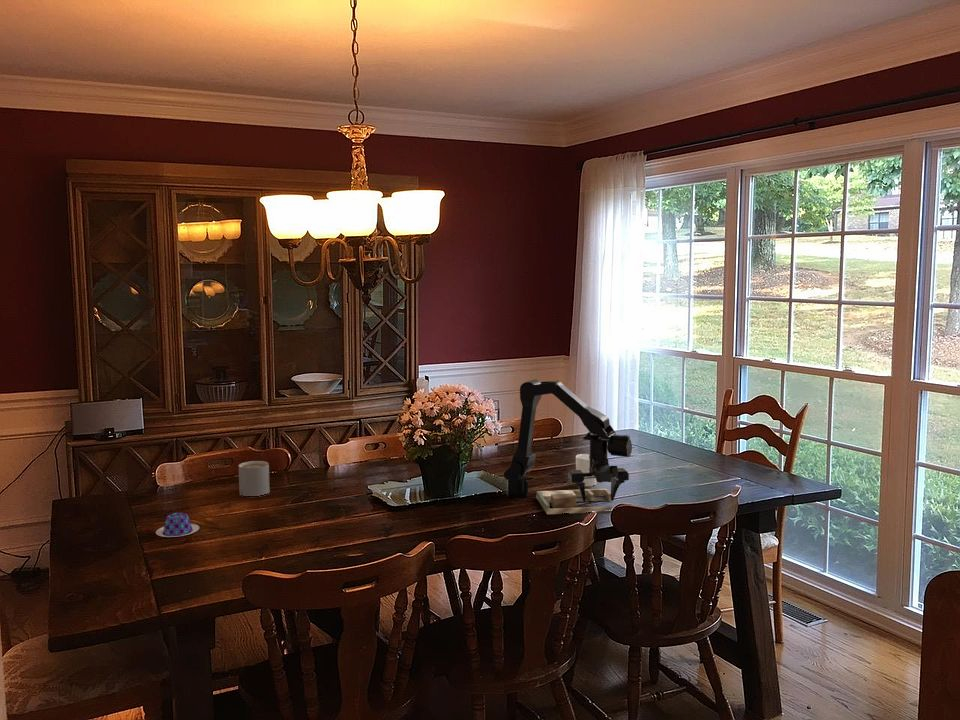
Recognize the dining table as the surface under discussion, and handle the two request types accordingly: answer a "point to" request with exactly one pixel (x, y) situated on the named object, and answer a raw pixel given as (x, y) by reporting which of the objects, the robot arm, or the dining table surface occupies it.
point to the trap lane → (590, 495)
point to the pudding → (177, 526)
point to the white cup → (584, 468)
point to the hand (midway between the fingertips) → (598, 501)
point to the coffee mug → (254, 478)
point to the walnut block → (563, 501)
